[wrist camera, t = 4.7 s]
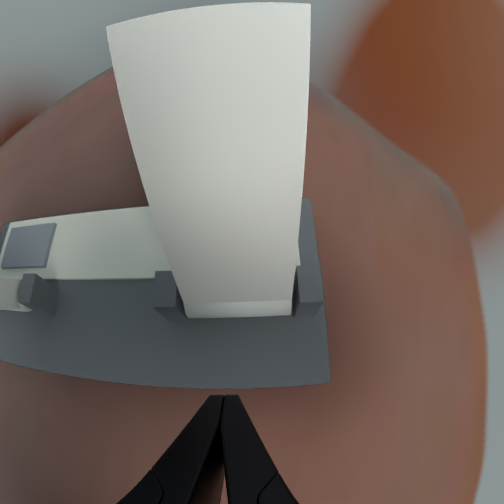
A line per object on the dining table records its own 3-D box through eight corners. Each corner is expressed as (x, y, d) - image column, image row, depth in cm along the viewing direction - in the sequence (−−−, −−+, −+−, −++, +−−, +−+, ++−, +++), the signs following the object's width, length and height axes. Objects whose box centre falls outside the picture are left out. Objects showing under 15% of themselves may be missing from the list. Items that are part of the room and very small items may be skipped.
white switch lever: (289, 323, 13) (312, 3, 5) (191, 326, 13) (101, 27, 5) (285, 287, 15) (297, 2, 6) (194, 290, 15) (131, 19, 6)
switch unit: (319, 384, 15) (344, 379, 11) (3, 361, 16) (-48, 344, 11) (303, 224, 20) (315, 169, 15) (25, 241, 20) (-14, 206, 15)
